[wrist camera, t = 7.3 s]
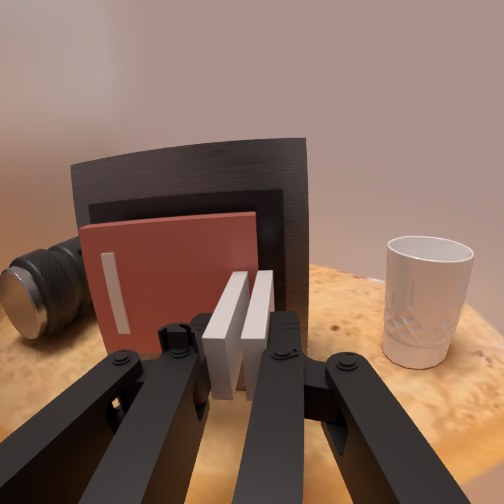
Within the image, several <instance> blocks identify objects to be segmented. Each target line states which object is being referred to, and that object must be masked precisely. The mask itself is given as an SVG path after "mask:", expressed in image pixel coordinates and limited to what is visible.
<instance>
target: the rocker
mask: <svg viewBox="0 0 504 504" xmlns="http://www.w3.org/2000/svg"><path fill="white" fill-rule="evenodd" d="M78 232H79V238H80V244H81V249H82V255H83V260H84V265H85V270H86V274H87V279H88V283H89V288H90V292H91V296H92V300H93V304H94V308H95V312H96V315H97V319H98V323H99V326H100V330H101V333H102V336H103V340H104V343H105V346H106V349H107V351H118V350H125V349H127V350H133V351H135V352H137V353H153V354H161V353H162V349H161V345H160V341H159V337H158V332H157V331H158V330H159V329H160V328H161V327H163V326H165V325H168V324H172V323H180V322H182V323H188V324H189V323H190V321H191V320H192V318H194V317H195V316H196V315H198V314H199V313H214V311H215V309H216V307H217V305H218V302H219V300H220V298H221V296H222V294H223V292H224V290H225V288H226V286H227V284H228V281H229V279H230V277H231V275H232V273H233V272H235V271H248V280H249V294H250V300H251V296H252V292H253V288H254V284H255V280H256V276H257V272H258V251H257V232H256V213H255V212H240V213H223V214H207V215H193V216H179V217H166V218H154V219H143V220H131V221H121V222H111V223H101V224H91V225H87V226H84V227H82V228H80V229H78Z"/></svg>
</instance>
